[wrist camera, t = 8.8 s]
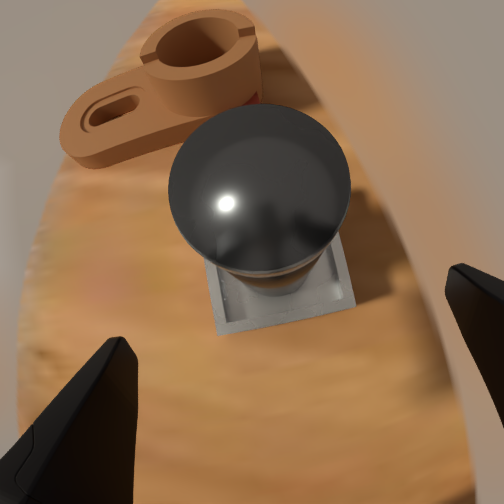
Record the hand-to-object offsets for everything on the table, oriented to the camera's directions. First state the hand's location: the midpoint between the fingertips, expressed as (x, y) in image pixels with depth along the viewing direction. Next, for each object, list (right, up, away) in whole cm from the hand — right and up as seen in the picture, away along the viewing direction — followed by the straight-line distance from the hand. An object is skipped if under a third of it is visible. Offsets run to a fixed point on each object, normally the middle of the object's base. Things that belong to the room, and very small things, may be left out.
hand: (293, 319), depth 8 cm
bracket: (-9, +14, +17) cm, 24 cm away
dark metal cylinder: (0, +1, +10) cm, 10 cm away
